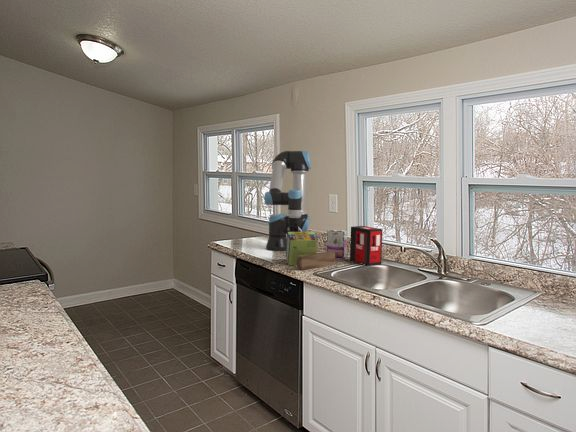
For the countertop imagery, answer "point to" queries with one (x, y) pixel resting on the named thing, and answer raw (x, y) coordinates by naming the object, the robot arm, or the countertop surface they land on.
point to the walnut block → (315, 260)
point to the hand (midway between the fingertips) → (293, 258)
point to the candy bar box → (337, 242)
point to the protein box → (300, 245)
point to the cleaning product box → (366, 245)
